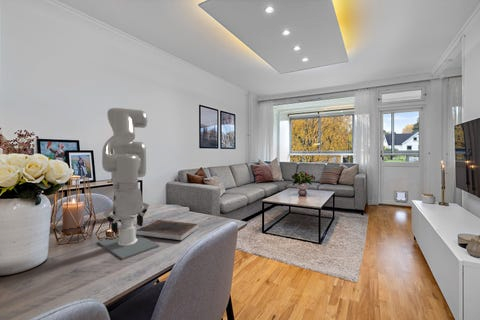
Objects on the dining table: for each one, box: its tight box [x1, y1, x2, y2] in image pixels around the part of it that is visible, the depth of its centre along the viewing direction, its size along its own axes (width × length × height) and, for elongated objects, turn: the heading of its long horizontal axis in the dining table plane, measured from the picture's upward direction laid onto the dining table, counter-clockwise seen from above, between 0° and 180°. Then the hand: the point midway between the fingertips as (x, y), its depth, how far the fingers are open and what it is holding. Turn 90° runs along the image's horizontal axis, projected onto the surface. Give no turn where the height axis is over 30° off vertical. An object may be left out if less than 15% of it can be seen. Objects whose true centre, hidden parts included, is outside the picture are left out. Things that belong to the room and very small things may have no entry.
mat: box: [97, 234, 160, 261], centre depth 88 cm, size 22×14×1 cm, turn 52°
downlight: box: [118, 216, 137, 246], centre depth 89 cm, size 8×7×10 cm
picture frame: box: [136, 219, 199, 241], centre depth 102 cm, size 16×2×22 cm
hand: (127, 228), depth 88 cm, fingers open, 9 cm apart
